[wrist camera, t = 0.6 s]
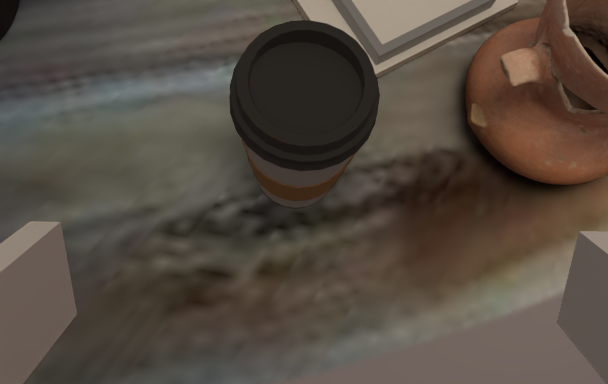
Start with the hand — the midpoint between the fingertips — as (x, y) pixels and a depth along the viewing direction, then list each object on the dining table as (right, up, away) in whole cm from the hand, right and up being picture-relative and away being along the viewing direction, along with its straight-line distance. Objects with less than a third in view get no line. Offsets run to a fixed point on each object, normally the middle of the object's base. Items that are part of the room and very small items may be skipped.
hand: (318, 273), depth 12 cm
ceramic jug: (+20, +9, +30) cm, 37 cm away
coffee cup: (-1, +4, +27) cm, 27 cm away
